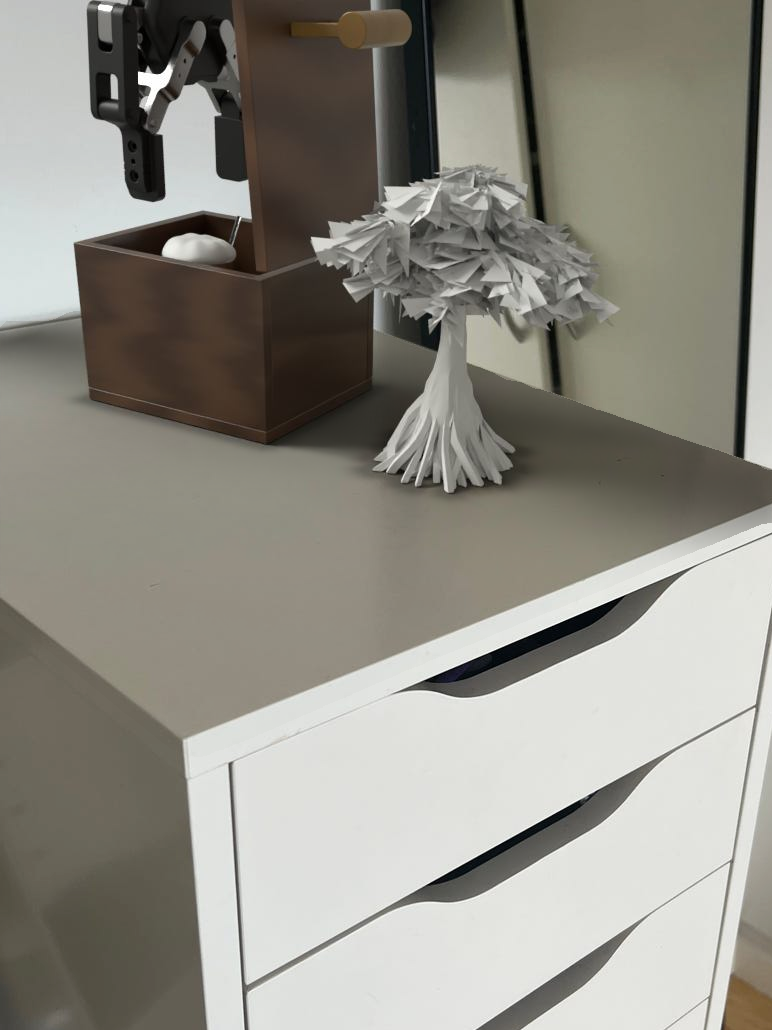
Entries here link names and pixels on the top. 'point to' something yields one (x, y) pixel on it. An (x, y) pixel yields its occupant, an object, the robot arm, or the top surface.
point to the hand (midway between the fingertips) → (192, 189)
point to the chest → (219, 331)
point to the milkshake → (203, 249)
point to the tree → (460, 300)
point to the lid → (309, 116)
